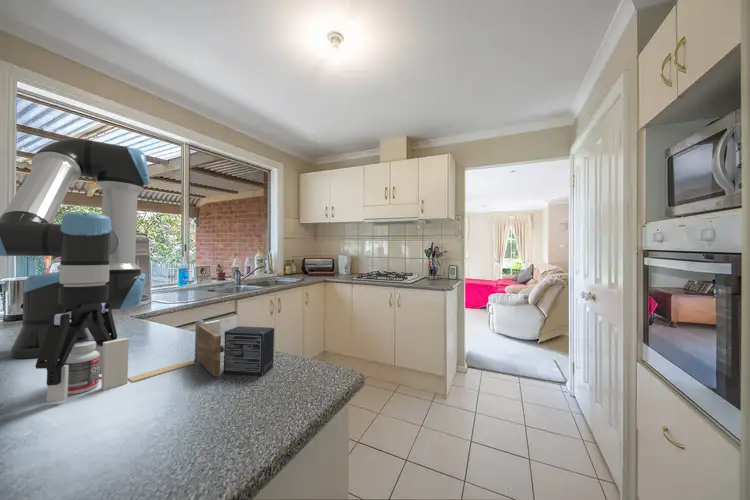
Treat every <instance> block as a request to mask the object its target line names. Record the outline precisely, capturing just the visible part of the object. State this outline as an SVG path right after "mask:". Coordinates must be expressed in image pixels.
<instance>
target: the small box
mask: <svg viewBox="0 0 750 500" xmlns="http://www.w3.org/2000/svg"><path fill="white" fill-rule="evenodd" d="M274 345H275V327H265V326H263V327H262V326H245V325H244V326H240V325H238V326H235V327H233V328H231V329H227V330H225V331H224V344H223V347H224V352H223V354H224V355H223V374H226V375H227V374H229V375H246V376H264V375H265V374H266V373H267V372H268V371H270V369H272V368H274V354H275V353H274V351H275V349H274V347H275V346H274Z"/></svg>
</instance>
